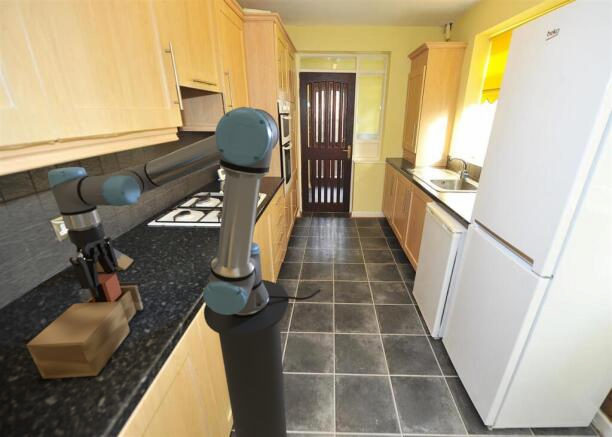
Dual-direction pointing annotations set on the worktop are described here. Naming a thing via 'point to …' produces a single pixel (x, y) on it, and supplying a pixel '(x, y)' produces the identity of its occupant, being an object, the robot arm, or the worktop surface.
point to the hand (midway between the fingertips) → (108, 297)
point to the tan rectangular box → (80, 340)
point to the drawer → (128, 298)
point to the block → (109, 286)
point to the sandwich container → (121, 259)
